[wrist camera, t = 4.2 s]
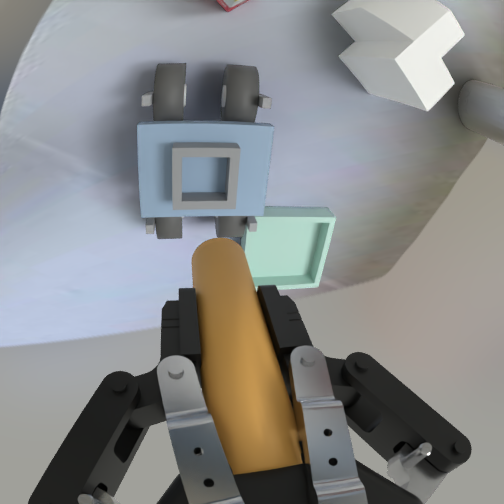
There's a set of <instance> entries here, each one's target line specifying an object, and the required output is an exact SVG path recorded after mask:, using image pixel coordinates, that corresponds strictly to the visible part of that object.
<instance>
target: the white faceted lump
mask: <svg viewBox="0 0 504 504" xmlns="http://www.w3.org/2000/svg"><path fill="white" fill-rule="evenodd" d="M331 15H332V16H333V17H334V18H335V19H336V20H337V22H338V23H339V24H340V25H341V26H342V27H343V28H344V29H345V30H346V32H347V33H348V34H349V35H350V36H351V37H352V39H353V40H354V41H355V42H354V43H353V44H351V45H350V46H349V47H348V48H347V49H346V50H345V51H344V52H342V53H341V54H340V55H339V56H338V57H339V58H340V59H341V60H342V61H343V62H344V64H345V65H346V66H347V67H348V68H349V70H350V71H351V72H352V73H353V74H354V76H355V77H356V78H357V79H358V81H359V82H360V83H361V84H362V86H363V87H364V88H365V89H366V91H367V92H368V93H369V94H371V95H374V96H378V97H382V98H386V99H389V100H393V101H396V102H399V103H403V104H406V105H409V106H412V107H415V108H418V109H421V110H424V111H427V112H428V111H429V110H430V109H431V108H432V107H433V106H434V105H435V104H436V103H437V102H438V101H439V99H440V98H441V97H442V96H443V95H444V94H445V93H446V92H447V91H448V90H449V89H450V88H451V87H452V86H453V85H454V84H455V83H454V81H453V79H452V77H451V75H450V73H449V71H448V69H447V67H446V66H445V64H444V62H443V60H442V57H443V56H444V55H445V54H446V53H447V52H448V51H449V50H450V49H451V48H452V47H453V46H454V45H455V44H456V43H457V42H458V41H459V40H460V39H461V38H462V37H463V36H464V35H465V34H464V32H463V31H462V29H461V27H460V25H459V23H458V22H457V20H456V18H455V17H454V15H453V13H452V12H451V10H450V9H449V8H447V7H446V6H444V5H443V4H441V3H440V2H438V1H437V0H349V1H347V2H346V3H345V4H344V5H342V6H341V7H340V8H338V9H337V10H336V11H335V12H333V13H332V14H331Z"/></svg>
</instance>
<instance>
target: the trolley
mask: <svg viewBox="0 0 504 504" xmlns="http://www.w3.org/2000/svg"><path fill="white" fill-rule="evenodd" d="M185 76H186V63H166V64H158V65H157V68H156V74H155V81H154V92H147V93H145V94H144V95H142V106H151V105H152V104H153V117H154V121H148V122H139V123H138V125H137V149H138V176H139V194H140V209H141V218H147V221H146V234H154V229H155V223H156V234H157V238H158V239H176V238H182V218H183V217H189V216H215V227H216V234H217V237H218V238H220V237H243V235H244V232H245V227H246V225H247V227H248V230H249V232H256V231H257V221H256V219H255V217H254V216H263V215H264V207H265V199H266V191H267V183H268V175H269V167H270V158H271V150H272V142H273V134H274V126H273V125H271V124H268V123H254V122H255V118H256V114H257V108H258V106H259V107H261V108H266V109H271V102H272V98H269V97H267V96H264V95H262V94H259V75H258V70H257V68H256V67H254V66H242V65H227V66H226V68H225V72H224V77H223V84H222V93H221V121H183V113H184V107H185V105H186V88H187V84H185Z"/></svg>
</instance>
